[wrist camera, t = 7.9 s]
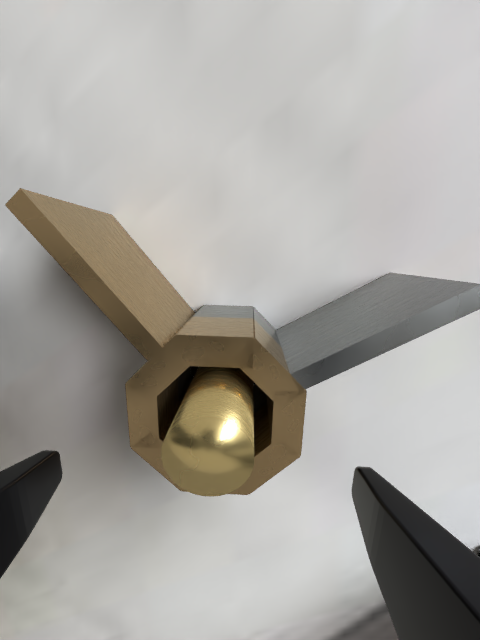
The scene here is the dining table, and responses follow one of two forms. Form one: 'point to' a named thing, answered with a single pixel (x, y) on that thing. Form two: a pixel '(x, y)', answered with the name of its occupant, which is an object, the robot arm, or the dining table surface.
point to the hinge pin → (212, 433)
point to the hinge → (230, 331)
